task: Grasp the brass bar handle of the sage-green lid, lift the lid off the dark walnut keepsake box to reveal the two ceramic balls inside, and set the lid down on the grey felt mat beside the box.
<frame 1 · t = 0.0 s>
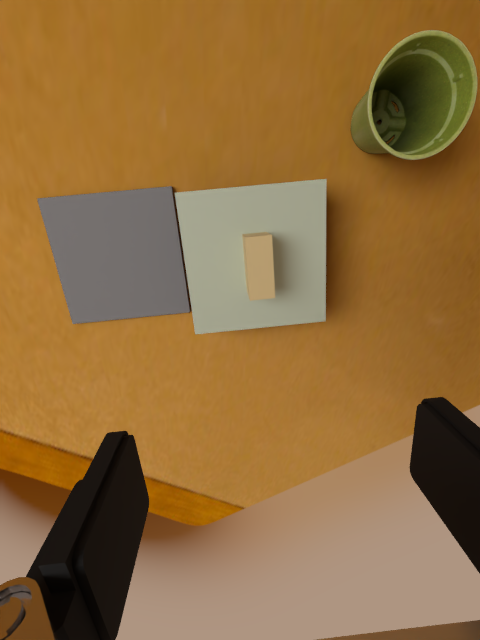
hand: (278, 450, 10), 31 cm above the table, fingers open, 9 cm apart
felt mat: (120, 258, 38), on the table
lid: (255, 260, 34), point 5 cm above the table, touching walnut box
plant pot: (375, 124, 35), on the table
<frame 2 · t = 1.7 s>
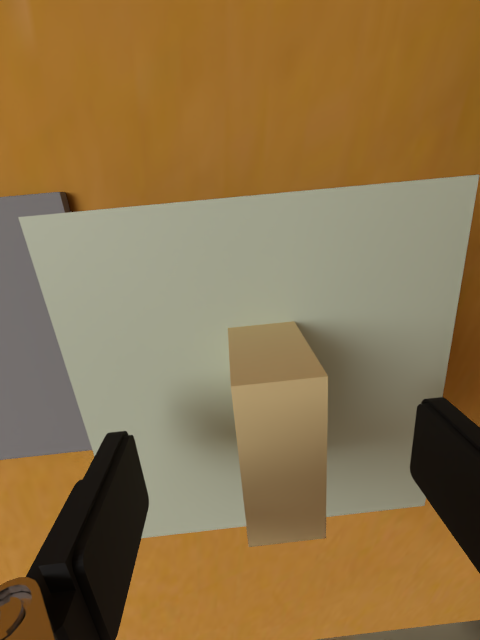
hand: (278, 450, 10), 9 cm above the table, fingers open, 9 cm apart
lid: (262, 379, 14), point 5 cm above the table, touching walnut box
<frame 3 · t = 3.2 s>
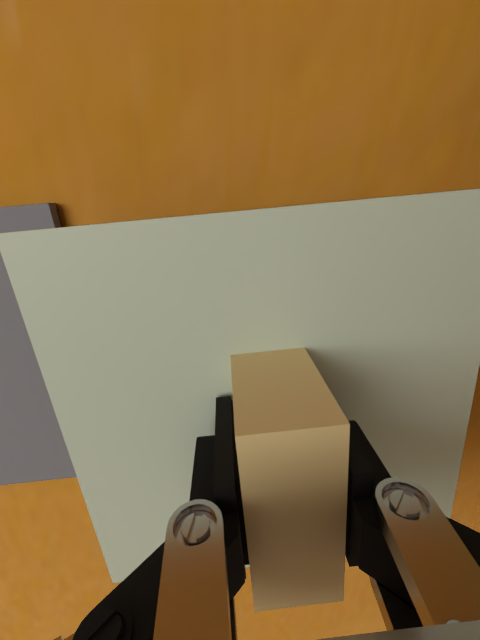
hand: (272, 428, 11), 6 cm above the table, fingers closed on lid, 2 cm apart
lid: (268, 408, 12), point 5 cm above the table, touching gripper
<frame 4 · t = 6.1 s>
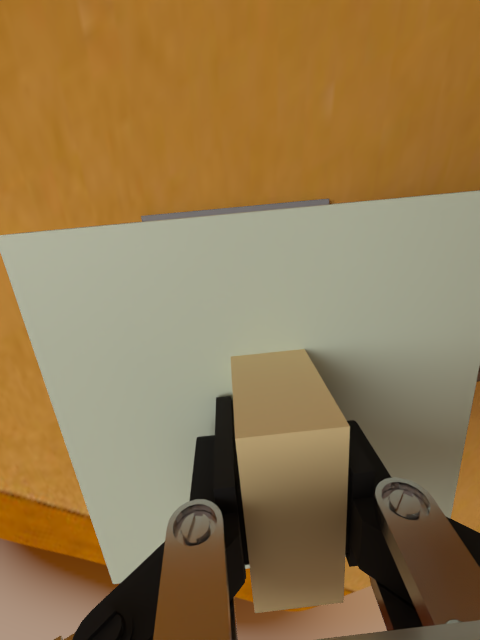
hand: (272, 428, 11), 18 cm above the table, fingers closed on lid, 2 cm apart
felt mat: (243, 296, 28), on the table
lid: (268, 410, 12), point 17 cm above the table, touching gripper
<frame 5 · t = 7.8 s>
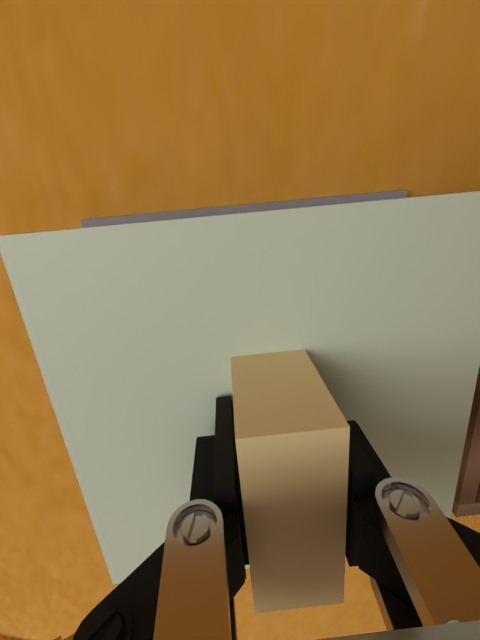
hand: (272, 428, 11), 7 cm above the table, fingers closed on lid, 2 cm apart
felt mat: (256, 347, 17), on the table
lid: (268, 410, 13), point 5 cm above the table, touching gripper
when the fingers open (4 cm above the table, at t = 9.1 s): lid drops 2 cm, resting on felt mat.
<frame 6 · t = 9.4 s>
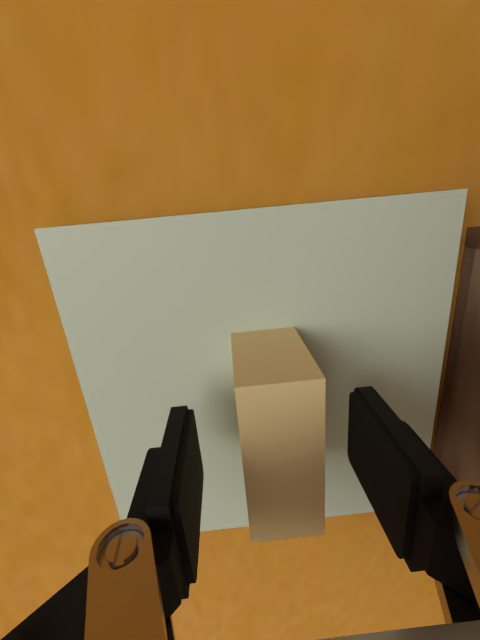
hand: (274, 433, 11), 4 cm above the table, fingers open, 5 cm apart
lid: (263, 383, 14), point 1 cm above the table, touching felt mat
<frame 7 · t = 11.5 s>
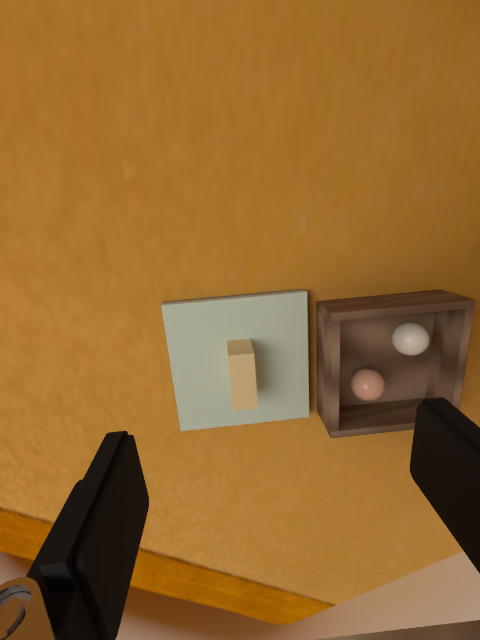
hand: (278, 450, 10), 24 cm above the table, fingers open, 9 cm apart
lid: (239, 361, 35), point 1 cm above the table, touching felt mat
cream ball: (400, 333, 36), point 1 cm above the table, touching walnut box
terracotta ball: (360, 377, 37), point 1 cm above the table, touching walnut box
walnut box: (375, 353, 37), on the table
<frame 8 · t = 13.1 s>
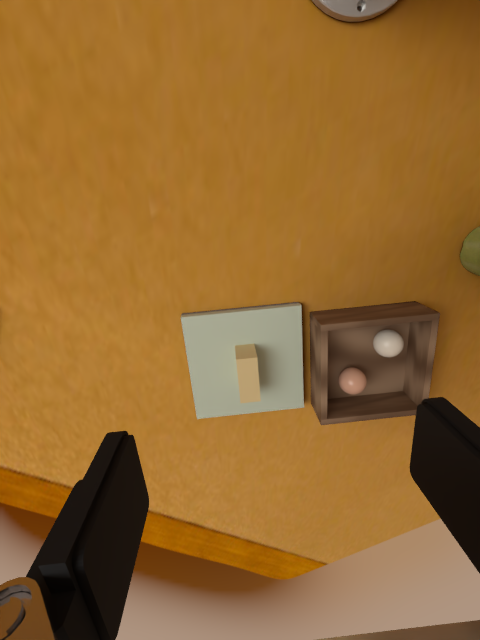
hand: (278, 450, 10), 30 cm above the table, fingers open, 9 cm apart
lid: (245, 361, 42), point 1 cm above the table, touching felt mat
cream ball: (381, 337, 42), point 1 cm above the table, touching walnut box
terracotta ball: (347, 374, 44), point 1 cm above the table, touching walnut box
walnut box: (360, 354, 44), on the table
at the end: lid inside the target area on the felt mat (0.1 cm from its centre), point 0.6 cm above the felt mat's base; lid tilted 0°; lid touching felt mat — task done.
